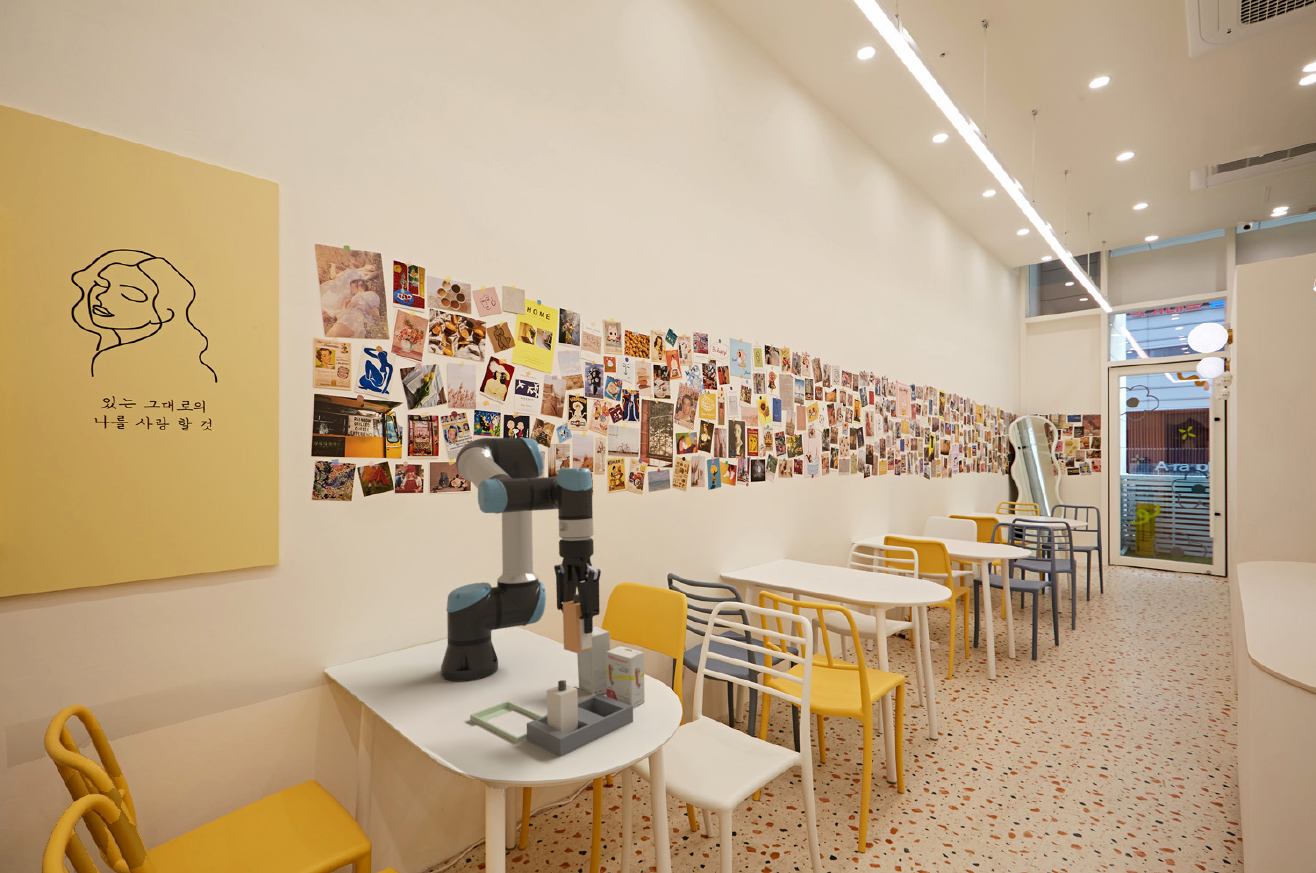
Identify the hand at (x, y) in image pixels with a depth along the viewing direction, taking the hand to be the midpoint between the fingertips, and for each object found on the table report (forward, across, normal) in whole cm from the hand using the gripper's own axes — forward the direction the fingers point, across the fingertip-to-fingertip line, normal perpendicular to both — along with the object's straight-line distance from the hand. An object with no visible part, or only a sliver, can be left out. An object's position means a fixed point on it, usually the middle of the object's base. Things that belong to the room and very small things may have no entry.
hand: (578, 645), depth 131 cm
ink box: (+18, -3, +16) cm, 24 cm away
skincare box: (+17, -14, +16) cm, 27 cm away
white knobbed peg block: (+17, +3, -7) cm, 18 cm away
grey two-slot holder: (+18, +3, -2) cm, 18 cm away
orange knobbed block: (+1, 0, 0) cm, 1 cm away
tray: (+17, -12, -9) cm, 23 cm away
